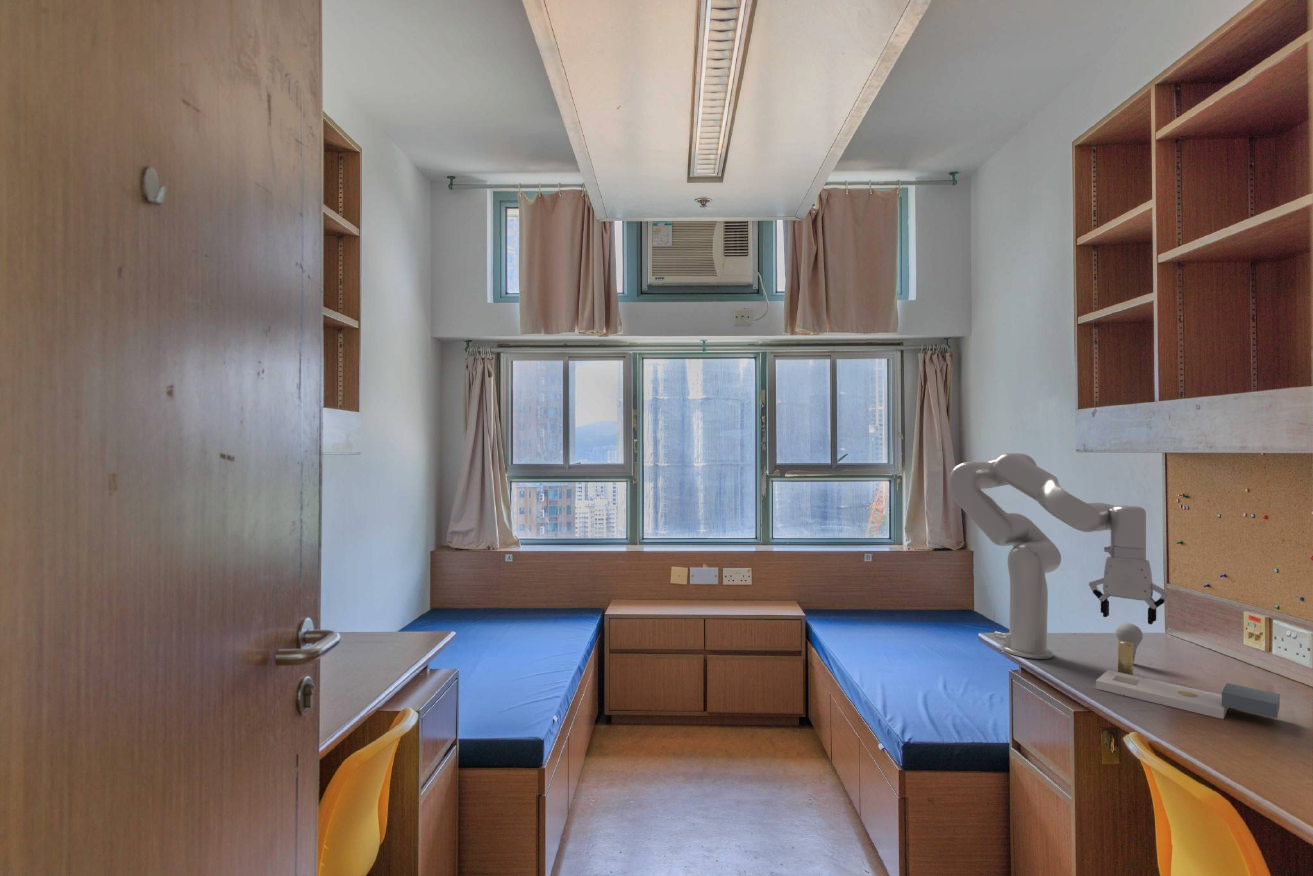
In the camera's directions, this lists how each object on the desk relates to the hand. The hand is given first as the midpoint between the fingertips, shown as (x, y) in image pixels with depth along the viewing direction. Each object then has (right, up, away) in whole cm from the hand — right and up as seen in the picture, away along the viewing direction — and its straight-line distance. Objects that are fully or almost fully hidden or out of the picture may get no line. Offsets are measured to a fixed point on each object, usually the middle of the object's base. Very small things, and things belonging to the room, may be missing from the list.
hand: (1127, 619), depth 173 cm
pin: (-1, -15, 0) cm, 15 cm away
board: (-1, -15, -13) cm, 20 cm away
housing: (+10, -13, -25) cm, 30 cm away
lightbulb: (+9, -16, +12) cm, 22 cm away
